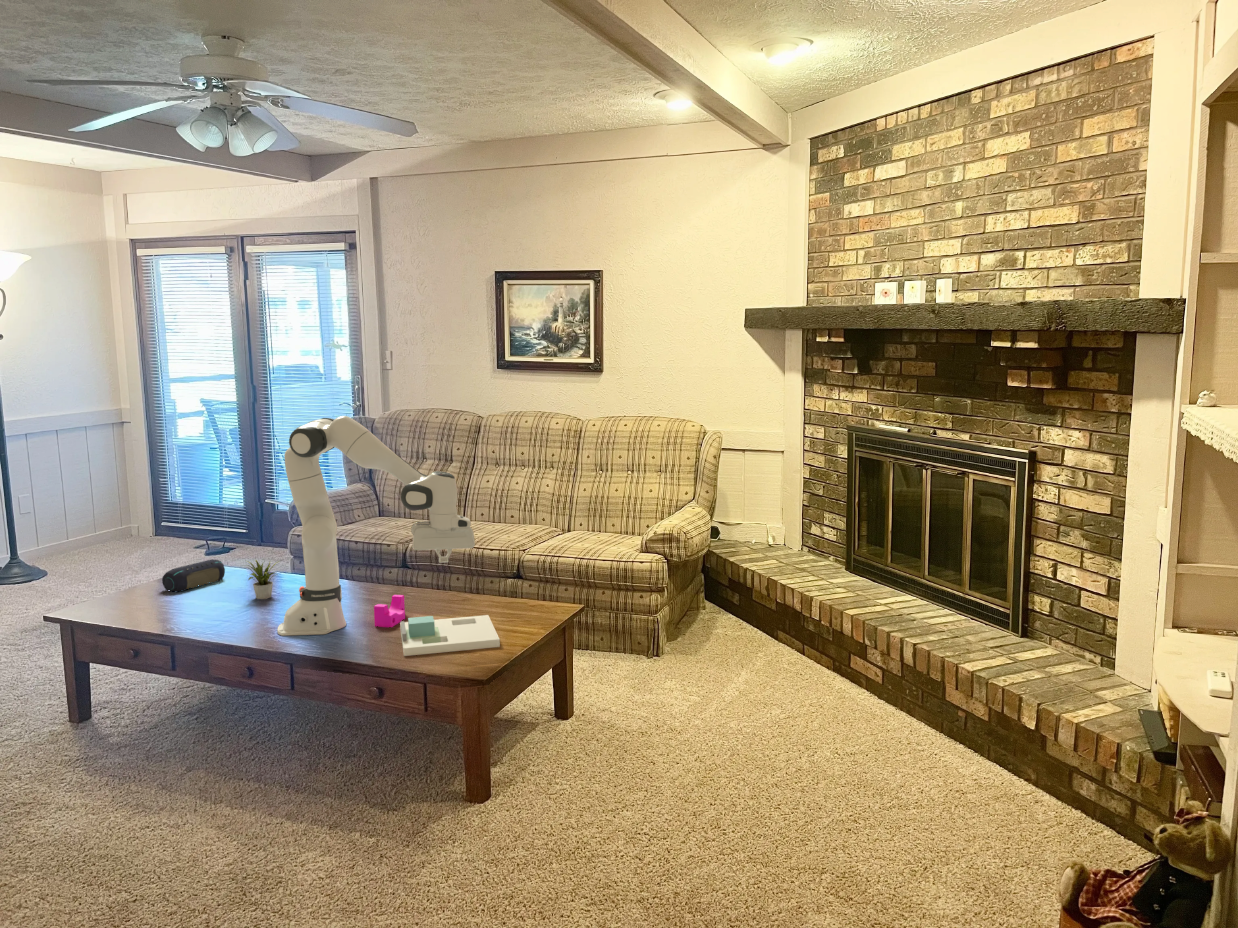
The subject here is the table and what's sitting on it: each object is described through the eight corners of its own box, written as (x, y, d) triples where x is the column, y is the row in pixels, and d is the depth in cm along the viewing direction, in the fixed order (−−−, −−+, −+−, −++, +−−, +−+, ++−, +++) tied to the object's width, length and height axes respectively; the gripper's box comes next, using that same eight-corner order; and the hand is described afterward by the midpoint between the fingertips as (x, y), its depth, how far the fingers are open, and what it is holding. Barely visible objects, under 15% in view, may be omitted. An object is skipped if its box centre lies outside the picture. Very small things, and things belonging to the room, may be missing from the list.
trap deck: (403, 655, 289) (403, 640, 288) (400, 629, 316) (399, 615, 315) (499, 646, 297) (499, 631, 296) (488, 621, 324) (488, 607, 323)
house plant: (232, 603, 351) (229, 561, 349) (254, 593, 365) (251, 553, 362) (266, 605, 348) (263, 562, 346) (287, 595, 361) (284, 554, 359)
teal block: (409, 637, 299) (409, 623, 299) (408, 631, 306) (408, 617, 305) (434, 635, 301) (434, 621, 301) (433, 628, 308) (432, 615, 308)
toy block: (391, 628, 318) (390, 607, 317) (374, 627, 320) (373, 606, 319) (411, 615, 333) (410, 595, 332) (395, 614, 334) (394, 594, 333)
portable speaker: (177, 596, 362) (175, 572, 360) (160, 594, 366) (158, 569, 365) (230, 582, 384) (228, 558, 382) (214, 579, 388) (212, 556, 387)
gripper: (411, 523, 299) (412, 565, 301) (475, 521, 304) (475, 563, 306) (410, 520, 305) (411, 561, 307) (473, 518, 310) (473, 558, 312)
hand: (443, 562), depth 306 cm, fingers closed
